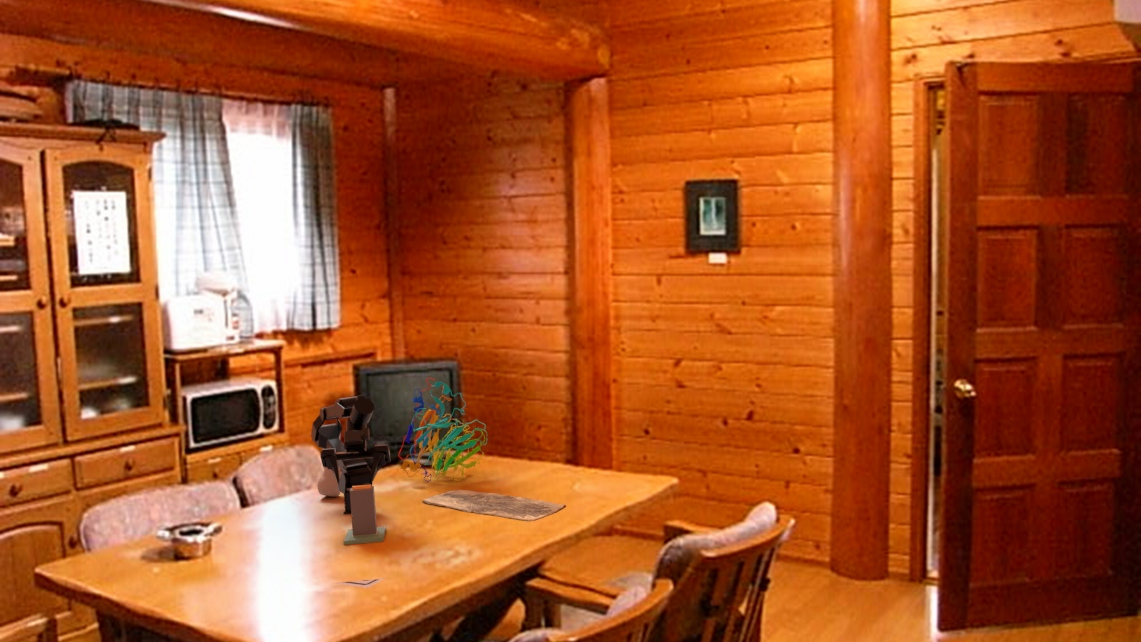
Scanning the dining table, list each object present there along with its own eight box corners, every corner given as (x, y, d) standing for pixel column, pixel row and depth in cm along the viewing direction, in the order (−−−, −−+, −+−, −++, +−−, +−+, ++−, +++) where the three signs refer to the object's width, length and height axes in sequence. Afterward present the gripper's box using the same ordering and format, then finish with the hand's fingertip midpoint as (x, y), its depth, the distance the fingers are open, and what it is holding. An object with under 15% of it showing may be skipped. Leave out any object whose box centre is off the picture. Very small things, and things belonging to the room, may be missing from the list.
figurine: (352, 493, 317) (349, 446, 315) (329, 501, 308) (325, 453, 307) (333, 491, 321) (329, 445, 320) (309, 499, 313) (305, 451, 312)
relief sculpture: (529, 522, 271) (529, 520, 271) (416, 502, 300) (416, 499, 300) (573, 507, 286) (573, 504, 286) (461, 488, 315) (461, 486, 315)
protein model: (514, 398, 338) (443, 362, 320) (499, 490, 323) (423, 459, 305) (457, 416, 358) (387, 383, 341) (440, 504, 343) (366, 475, 325)
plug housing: (354, 532, 267) (350, 485, 266) (377, 530, 268) (373, 483, 267) (352, 535, 264) (349, 488, 263) (376, 533, 265) (372, 486, 264)
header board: (348, 533, 271) (347, 518, 271) (385, 529, 272) (384, 515, 272) (343, 544, 260) (342, 529, 260) (382, 541, 261) (381, 526, 261)
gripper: (318, 420, 280) (316, 468, 270) (386, 416, 282) (387, 463, 272) (324, 443, 288) (322, 490, 278) (390, 438, 290) (390, 484, 280)
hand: (355, 481), depth 277 cm, fingers open, 9 cm apart
